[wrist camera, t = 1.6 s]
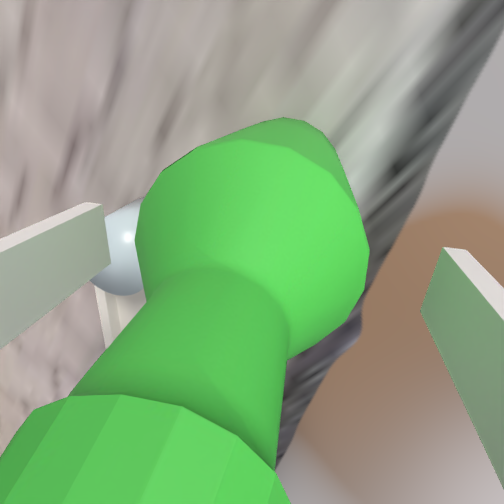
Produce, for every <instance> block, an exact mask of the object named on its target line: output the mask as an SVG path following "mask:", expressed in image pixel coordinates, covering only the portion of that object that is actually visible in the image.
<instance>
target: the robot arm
mask: <svg viewBox="0 0 504 504" xmlns="http://www.w3.org/2000/svg"><path fill="white" fill-rule="evenodd" d="M110 264H111V259H110V252H109V245H108V239H107V232H106V225H105V219H104V212H103V205H102V204H97V203H89V202H84V203H82V204H80V205H78V206H75V207H73V208H71V209H68V210H66V211H64V212H61V213H59V214H57V215H54V216H52V217H50V218H47V219H45V220H43V221H40V222H38V223H36V224H34V225H31V226H29V227H27V228H24V229H22V230H20V231H17V232H15V233H13V234H10V235H8V236H6V237H3V238H1V239H0V349H1V348H3V347H4V346H5V345H7V344H8V343H9V342H10V341H12V340H13V339H14V338H16V337H17V336H18V335H19V334H21V333H22V332H23V331H25V330H26V329H27V328H28V327H30V326H31V325H32V324H34V323H35V322H36V321H38V320H39V319H40V318H41V317H43V316H44V315H45V314H47V313H48V312H49V311H50V310H52V309H53V308H54V307H56V306H57V305H58V304H59V303H61V302H62V301H63V300H65V299H66V298H67V297H68V296H70V295H71V294H72V293H74V292H75V291H76V290H77V289H79V288H80V287H81V286H83V285H84V284H85V283H86V282H88V281H89V280H90V279H92V278H93V277H94V276H95V275H97V274H98V273H99V272H101V271H102V270H103V269H104V268H106V267H107V266H108V265H110ZM420 312H421V314H422V316H423V318H424V320H425V322H426V325H427V327H428V329H429V331H430V333H431V335H432V337H433V339H434V342H435V344H436V346H437V348H438V350H439V352H440V354H441V357H442V359H443V361H444V363H445V365H446V367H447V369H448V372H449V374H450V376H451V378H452V380H453V382H454V384H455V386H456V389H457V391H458V393H459V395H460V397H461V399H462V401H463V403H464V405H465V408H466V410H467V412H468V414H469V416H470V418H471V420H472V423H473V425H474V427H475V429H476V431H477V433H478V435H479V438H480V440H481V442H482V444H483V446H484V448H485V450H486V453H487V455H488V457H489V459H490V461H491V463H492V465H493V467H494V469H495V472H496V474H497V476H498V478H499V480H500V482H501V484H502V487H503V489H504V288H503V287H502V286H501V285H500V284H499V283H498V282H497V281H496V280H495V279H494V278H493V277H492V276H491V275H490V274H489V273H488V272H487V271H486V270H485V269H484V268H483V267H482V266H481V265H480V264H479V263H478V261H476V259H474V257H473V256H472V255H471V254H470V253H469V252H468V251H467V250H463V249H455V248H447V247H443V248H442V251H441V253H440V256H439V259H438V262H437V265H436V268H435V270H434V273H433V276H432V279H431V282H430V285H429V288H428V290H427V293H426V296H425V299H424V302H423V305H422V307H421V310H420Z"/></svg>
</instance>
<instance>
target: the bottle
mask: <svg viewBox="0 0 504 504" xmlns="http://www.w3.org/2000/svg"><path fill="white" fill-rule="evenodd" d="M134 241H135V247H136V252H137V257H138V262H139V267H140V272H141V278H142V283H143V287H144V292H145V297H146V303H145V304H144V306H143V307H142V308H141V309H140V310H139V311H138V313H137V314H136V315H135V316H134V317H133V319H132V320H131V321H130V322H129V323H128V324H127V326H126V327H125V328H124V329H123V330H122V332H121V333H120V334H119V335H118V336H117V337H116V339H115V340H114V341H113V342H112V343H111V345H110V346H109V347H108V348H107V349H106V350H105V352H104V353H103V354H102V355H101V356H100V358H99V359H98V360H97V361H96V362H95V363H94V365H93V366H92V367H91V368H90V369H89V371H88V372H87V373H86V374H85V375H84V377H83V378H82V379H81V380H80V381H79V383H78V384H77V385H76V386H75V388H74V389H73V390H72V391H71V393H70V394H69V396H68V397H66V398H63V399H61V400H58V401H55V402H53V403H50V404H48V405H45V406H42V407H40V408H37V409H35V410H33V411H32V413H31V414H30V415H29V417H28V418H27V419H26V420H25V422H24V423H23V424H22V426H21V427H20V428H19V429H18V431H17V432H16V434H15V435H14V437H13V438H12V440H11V441H10V443H9V444H8V446H7V448H6V449H5V451H4V452H3V454H2V455H1V457H0V504H291V503H290V501H289V499H288V497H287V495H286V493H285V491H284V489H283V487H282V484H281V482H280V480H279V479H278V476H277V474H276V473H275V472H274V471H275V462H276V453H277V444H278V435H279V426H280V417H281V409H282V400H283V391H284V382H285V373H286V364H287V360H289V359H291V358H292V357H294V356H296V355H298V354H299V353H301V352H303V351H305V350H306V349H308V348H310V347H312V346H313V345H315V344H316V343H318V342H319V341H320V340H322V339H323V338H324V337H326V336H327V335H328V334H330V333H331V332H332V331H334V330H335V329H336V328H337V327H339V326H340V325H341V324H343V323H344V322H345V321H346V319H347V317H348V316H349V314H350V312H351V311H352V309H353V308H354V306H355V304H356V303H357V301H358V299H359V298H360V296H361V294H362V293H363V291H364V286H365V279H366V272H367V265H368V258H369V245H368V242H367V238H366V234H365V231H364V227H363V224H362V220H361V217H360V212H359V208H358V206H357V203H356V201H355V198H354V196H353V193H352V190H351V188H350V185H349V183H348V180H347V178H346V175H345V172H344V170H343V167H342V165H341V162H340V160H339V158H338V155H337V153H336V150H335V148H334V147H333V146H332V144H331V143H330V142H329V140H328V139H327V138H326V136H325V135H324V134H323V132H321V131H320V130H318V129H316V128H315V127H313V126H312V125H310V124H308V123H307V122H305V121H301V120H296V119H290V118H284V117H283V118H278V119H273V120H269V121H264V122H261V123H258V124H255V125H253V126H250V127H247V128H244V129H242V130H239V131H237V132H234V133H232V134H229V135H227V136H224V137H221V138H219V139H216V140H214V141H211V142H209V143H206V144H204V145H201V146H199V147H197V148H195V149H194V150H192V151H191V152H189V153H188V154H186V155H185V156H183V157H182V158H180V159H179V160H177V161H176V162H174V163H173V164H171V165H170V166H168V167H167V168H165V169H164V170H163V171H162V172H161V173H160V175H159V176H158V178H157V179H156V181H155V183H154V184H153V186H152V187H151V189H150V190H149V192H148V193H147V195H146V197H145V198H144V200H143V201H142V203H141V205H140V211H139V216H138V222H137V228H136V234H135V239H134Z"/></svg>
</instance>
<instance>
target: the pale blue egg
mask: <svg viewBox="0 0 504 504" xmlns="http://www.w3.org/2000/svg"><path fill="white" fill-rule="evenodd" d="M144 198H145V197H142V198H139V199H137V200H135V201H133V202H131V203H129V204H128V205H126V206H124V207H122V208H120V209H118V210H117V211H115V212H113V213H111V214H109V215H108V216H106V217H104V219H105V225H106V232H107V239H108V245H109V252H110V259H111V264H110V265H108V266H107V267H106V268H104V269H103V270H102V271H101V272H99V273H98V274H97V275H95V276H94V277H93V278H92V279H90V281H91V282H92V283H93V284H94V285H95V286H97V287H98V288H100V289H102V290H103V291H105V292H108V293H111V294H114V295H120V296H127V295H132V294H135V293H137V292H139V291H141V290H142V289H143V288H144V287H143V283H142V278H141V272H140V267H139V262H138V257H137V252H136V247H135V241H134V239H135V234H136V228H137V222H138V216H139V211H140V205H141V203H142V201H143V200H144Z"/></svg>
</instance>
